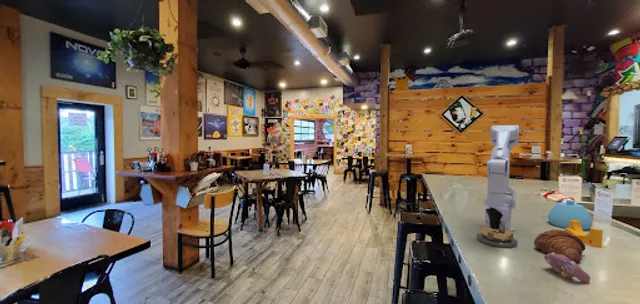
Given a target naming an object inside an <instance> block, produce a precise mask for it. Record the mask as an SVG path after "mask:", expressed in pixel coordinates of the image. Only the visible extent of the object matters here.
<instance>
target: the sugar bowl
mask: <svg viewBox="0 0 640 304" xmlns="http://www.w3.org/2000/svg"><path fill="white" fill-rule="evenodd" d="M570 220H577V221H580V222H581V228H582V230H583V231H587V230H590V228H593V219H592V216H591V215H590V213H589V211H588V210H587V209H586V207H585V206H584V205H582V204H579V203H576V201H575V200H573V199H566V200H565V202H557V203H556V204H555V205H553V207H552V208H551V209H550V210H549V213H548V216H547V221H548V222H549V223H551V225H552V226H554V227H555V226H556V227H558V228H562V229H564V228H569V224H570Z"/></svg>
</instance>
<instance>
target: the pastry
mask: <svg viewBox="0 0 640 304" xmlns="http://www.w3.org/2000/svg"><path fill="white" fill-rule="evenodd" d="M533 243H534V247H535V248H536V250H538V251H540V252H541V253H543V254H545V255H547V254H549V253H553V252H554V253H555V254H560V255H564V256H566V257H567V258H569V259H570V260H571V261H574V262H575V263H576V264H577V263H579V262H581V261H582V255H583V252H584V251H585V250H586V244H585V243H584V242H582V240H581V239H579V238H578V237H576V236H574V235H572V234H571V233H569V232H566V231H564V230H561V229H551V230H548V231H547V230H546V231H544V232H542V233H539V234H538V235H537V237H536V238H534V241H533Z"/></svg>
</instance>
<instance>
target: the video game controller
mask: <svg viewBox="0 0 640 304" xmlns="http://www.w3.org/2000/svg"><path fill="white" fill-rule="evenodd" d="M543 257H544V260H545V262H546V263H547V264H548V265H550V267H552V269H553V270H554V271H555V272H556V273H558V274H561V273H563V275H564V276H565V277H566V278H567V279H570V280H571V279H573V278H576V279H577V280H578V281H580V282H582V283H584V284H585V283H590V281H591V276H590V275H589V274H588V273H587V272H586V271H585V270H583V269H582V267H581V266H580V265H579V264H577V263H575V262H574V261H571V260H570V259H569V258H567V257H566V256H564V255H560V254H555V253H554V252H553V253H549V254H545V255H544V256H543Z"/></svg>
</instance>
